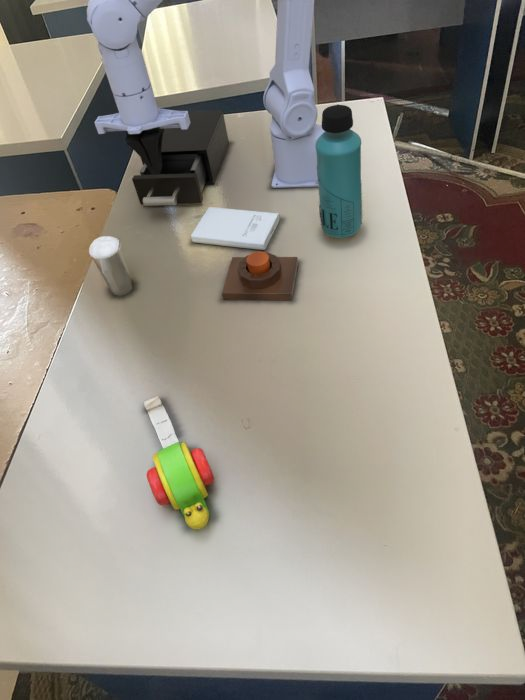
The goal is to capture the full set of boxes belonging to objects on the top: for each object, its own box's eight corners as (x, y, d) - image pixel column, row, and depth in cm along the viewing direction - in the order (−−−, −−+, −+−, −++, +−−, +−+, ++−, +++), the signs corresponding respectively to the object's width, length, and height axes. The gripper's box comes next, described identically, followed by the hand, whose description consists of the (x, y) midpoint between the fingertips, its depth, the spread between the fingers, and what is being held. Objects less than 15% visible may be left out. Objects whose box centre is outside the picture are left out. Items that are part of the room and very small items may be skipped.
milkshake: (135, 300, 84) (114, 247, 77) (103, 298, 86) (78, 246, 78) (146, 280, 87) (125, 226, 80) (114, 278, 89) (91, 226, 81)
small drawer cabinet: (214, 184, 103) (206, 149, 98) (149, 186, 105) (138, 152, 100) (229, 143, 112) (222, 109, 107) (169, 146, 114) (160, 113, 109)
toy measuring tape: (176, 551, 58) (159, 523, 53) (130, 413, 71) (112, 380, 66) (233, 523, 59) (222, 494, 54) (178, 393, 72) (164, 359, 67)
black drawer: (195, 219, 95) (188, 192, 91) (133, 220, 97) (123, 194, 93) (217, 161, 106) (211, 135, 103) (160, 163, 109) (153, 138, 105)
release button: (271, 260, 82) (270, 251, 81) (268, 275, 80) (267, 265, 79) (250, 260, 83) (248, 251, 82) (246, 275, 81) (244, 265, 80)
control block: (298, 263, 85) (296, 247, 83) (291, 300, 80) (289, 284, 78) (233, 263, 87) (230, 248, 85) (223, 299, 82) (219, 284, 80)
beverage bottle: (368, 224, 89) (369, 99, 74) (354, 250, 86) (352, 124, 71) (329, 218, 92) (322, 95, 77) (314, 243, 88) (304, 119, 73)
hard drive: (211, 213, 97) (280, 219, 93) (192, 243, 92) (264, 251, 88) (209, 205, 96) (279, 211, 92) (190, 235, 91) (263, 243, 87)
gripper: (76, 103, 81) (107, 186, 91) (171, 97, 78) (193, 183, 88) (92, 81, 86) (121, 162, 96) (184, 74, 83) (203, 159, 93)
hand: (157, 170), depth 93 cm, fingers closed
